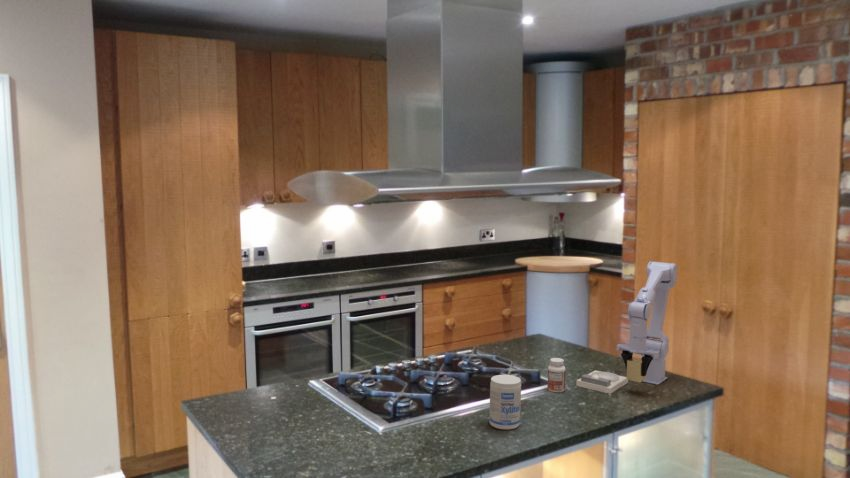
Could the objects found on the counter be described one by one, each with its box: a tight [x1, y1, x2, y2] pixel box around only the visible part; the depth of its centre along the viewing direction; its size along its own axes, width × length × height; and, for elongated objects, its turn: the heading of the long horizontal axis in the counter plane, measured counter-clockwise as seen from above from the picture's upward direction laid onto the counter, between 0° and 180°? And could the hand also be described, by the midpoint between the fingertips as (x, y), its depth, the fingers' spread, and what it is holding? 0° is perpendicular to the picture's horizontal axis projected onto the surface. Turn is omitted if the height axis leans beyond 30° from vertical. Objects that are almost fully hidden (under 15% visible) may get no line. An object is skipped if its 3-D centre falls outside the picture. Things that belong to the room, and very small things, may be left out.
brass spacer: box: [626, 356, 646, 383], centre depth 245 cm, size 5×5×7 cm
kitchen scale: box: [576, 369, 629, 395], centre depth 255 cm, size 15×13×5 cm
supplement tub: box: [488, 374, 522, 431], centre depth 218 cm, size 10×10×15 cm
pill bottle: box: [547, 357, 567, 393], centre depth 249 cm, size 6×6×11 cm
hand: (636, 373), depth 246 cm, fingers closed on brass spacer, 5 cm apart
